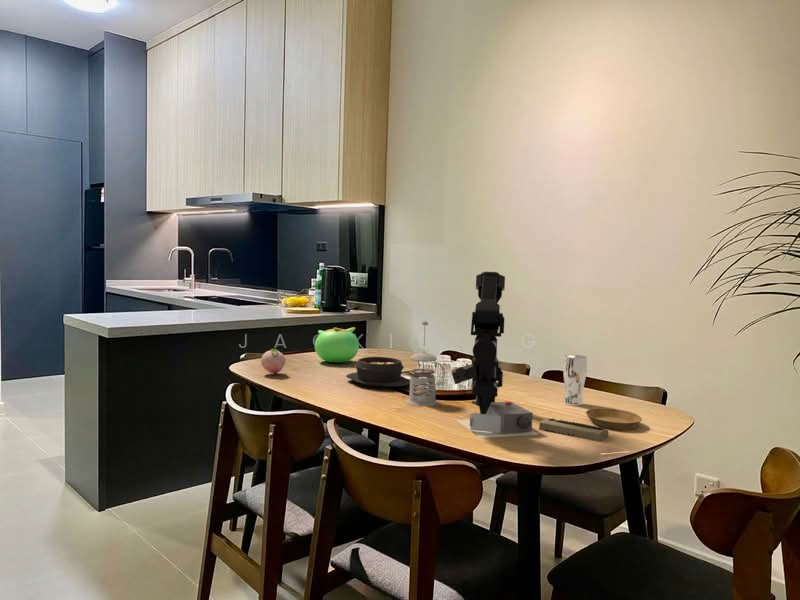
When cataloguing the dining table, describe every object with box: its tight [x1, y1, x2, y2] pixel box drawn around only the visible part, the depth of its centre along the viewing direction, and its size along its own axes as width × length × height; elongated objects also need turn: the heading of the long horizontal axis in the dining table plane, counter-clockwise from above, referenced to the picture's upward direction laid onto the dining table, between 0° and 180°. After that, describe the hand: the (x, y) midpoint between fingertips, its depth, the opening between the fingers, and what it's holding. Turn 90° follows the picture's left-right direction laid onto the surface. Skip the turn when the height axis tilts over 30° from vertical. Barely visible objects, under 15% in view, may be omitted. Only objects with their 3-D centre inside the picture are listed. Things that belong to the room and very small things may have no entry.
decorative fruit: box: [260, 347, 286, 374], centre depth 214 cm, size 9×8×10 cm
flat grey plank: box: [538, 418, 609, 442], centre depth 153 cm, size 16×8×3 cm, turn 57°
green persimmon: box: [314, 326, 360, 364], centre depth 243 cm, size 18×17×15 cm
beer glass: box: [562, 354, 588, 407], centre depth 185 cm, size 7×7×15 cm
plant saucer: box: [585, 407, 643, 430], centre depth 164 cm, size 15×15×3 cm
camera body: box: [486, 400, 533, 434], centre depth 156 cm, size 13×8×6 cm, turn 18°
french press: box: [405, 320, 446, 407], centre depth 180 cm, size 10×12×25 cm
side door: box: [469, 412, 504, 433], centre depth 150 cm, size 8×1×4 cm, turn 78°
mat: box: [456, 419, 539, 439], centre depth 156 cm, size 16×16×1 cm
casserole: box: [345, 356, 410, 388], centre depth 204 cm, size 25×19×8 cm
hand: (482, 415), depth 154 cm, fingers closed
